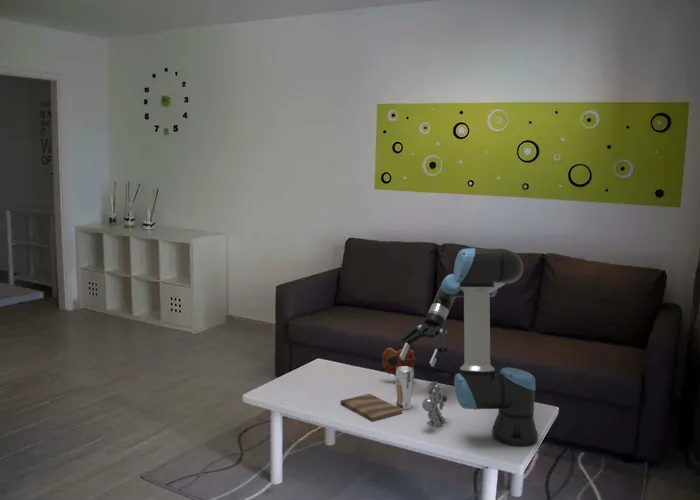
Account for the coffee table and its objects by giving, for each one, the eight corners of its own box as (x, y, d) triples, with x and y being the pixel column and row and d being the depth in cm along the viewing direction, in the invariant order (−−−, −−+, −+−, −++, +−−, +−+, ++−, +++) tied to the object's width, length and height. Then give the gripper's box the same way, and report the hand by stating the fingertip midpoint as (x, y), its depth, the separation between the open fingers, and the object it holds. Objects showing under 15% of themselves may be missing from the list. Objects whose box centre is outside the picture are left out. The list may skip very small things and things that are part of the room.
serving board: (402, 413, 238) (402, 409, 238) (372, 421, 230) (372, 417, 230) (369, 397, 254) (369, 393, 254) (340, 404, 246) (340, 400, 246)
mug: (415, 380, 275) (417, 346, 273) (416, 386, 267) (417, 351, 265) (381, 378, 277) (382, 344, 275) (380, 385, 269) (381, 350, 267)
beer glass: (391, 404, 247) (392, 366, 245) (407, 402, 249) (409, 365, 247) (399, 410, 240) (400, 372, 239) (415, 408, 243) (417, 370, 241)
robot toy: (433, 433, 221) (434, 391, 219) (417, 429, 224) (418, 388, 222) (450, 419, 233) (451, 380, 231) (434, 416, 236) (436, 376, 234)
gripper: (466, 327, 256) (447, 373, 246) (413, 317, 270) (392, 360, 260) (461, 316, 251) (441, 362, 241) (406, 307, 265) (386, 350, 255)
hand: (416, 361), depth 250 cm, fingers open, 13 cm apart
